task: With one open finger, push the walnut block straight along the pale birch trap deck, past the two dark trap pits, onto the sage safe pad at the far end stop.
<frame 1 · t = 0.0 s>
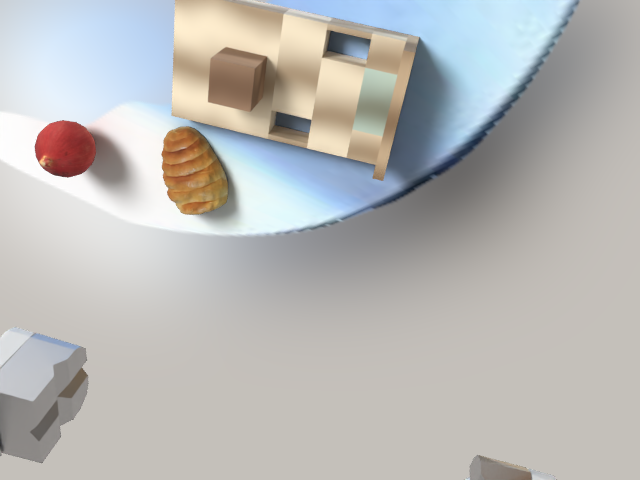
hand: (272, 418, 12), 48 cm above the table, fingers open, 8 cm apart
onion: (85, 135, 67), on the table
pastry: (197, 170, 66), on the table
walnut block: (244, 72, 56), point 2 cm above the table, touching trap deck
trap deck: (291, 74, 58), on the table
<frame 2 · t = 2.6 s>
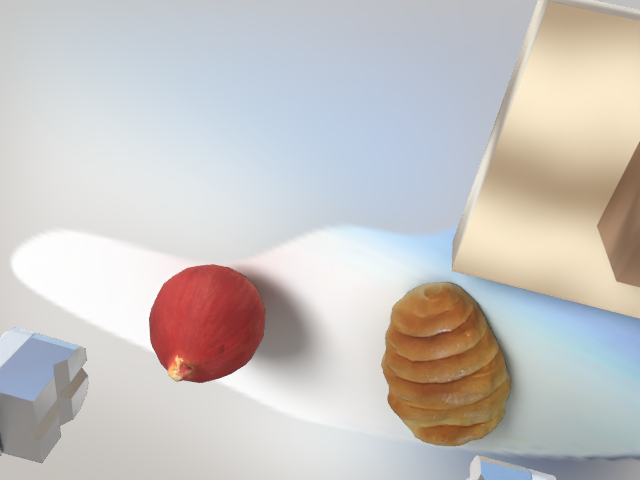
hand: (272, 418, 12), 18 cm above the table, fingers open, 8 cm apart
onion: (232, 277, 34), on the table
pastry: (440, 349, 34), on the table
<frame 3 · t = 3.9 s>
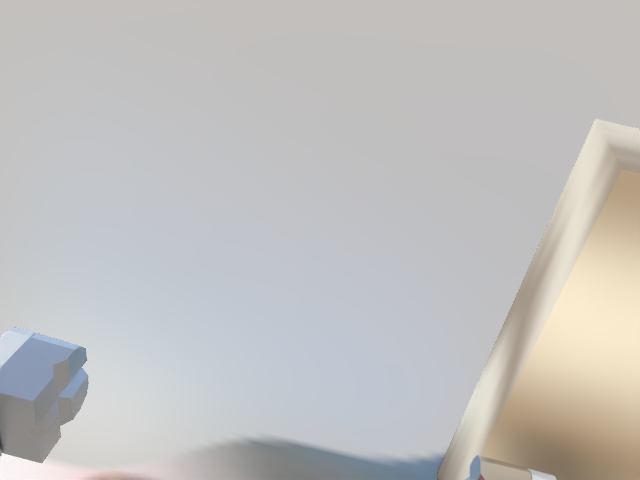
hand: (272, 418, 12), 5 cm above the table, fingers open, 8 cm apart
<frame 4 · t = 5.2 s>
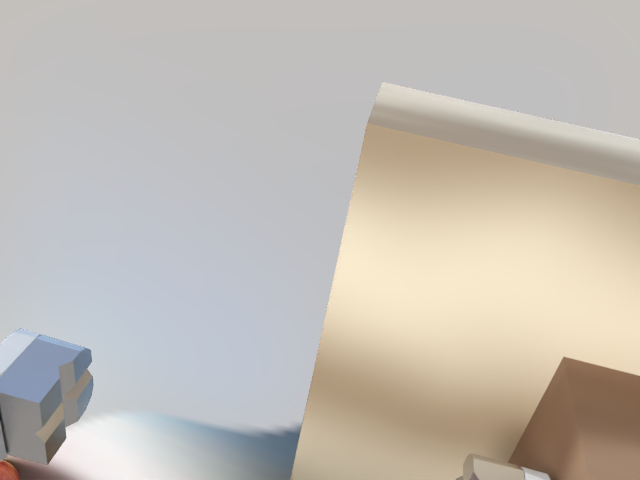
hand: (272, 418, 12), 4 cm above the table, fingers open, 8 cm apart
onion: (11, 462, 24), on the table
walnut block: (619, 443, 13), point 3 cm above the table, touching gripper, trap deck
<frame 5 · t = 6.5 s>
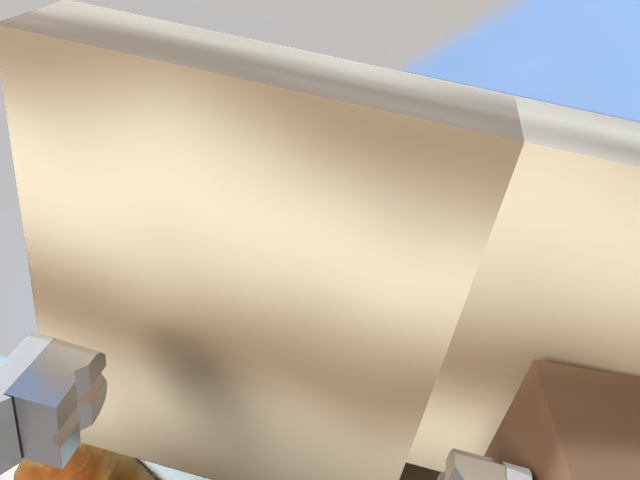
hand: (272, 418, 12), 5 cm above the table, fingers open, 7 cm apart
walnut block: (588, 438, 13), point 3 cm above the table, tilted 8°, touching gripper, trap deck
trap deck: (477, 322, 16), on the table
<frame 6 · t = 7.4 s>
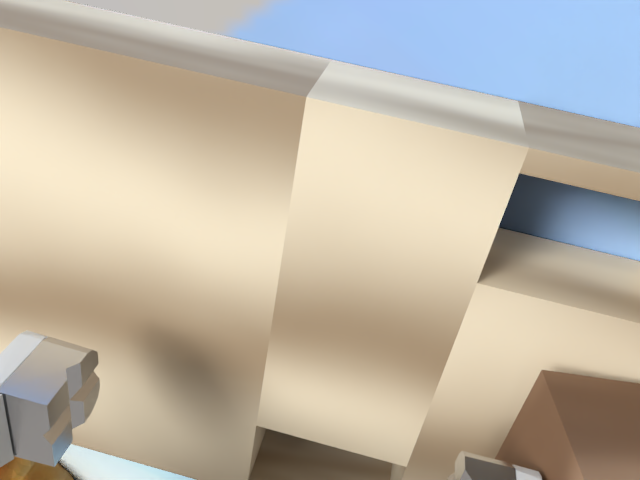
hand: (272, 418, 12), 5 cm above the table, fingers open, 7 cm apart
walnut block: (595, 445, 13), point 3 cm above the table, tilted 10°, touching gripper, trap deck
trap deck: (330, 289, 16), on the table
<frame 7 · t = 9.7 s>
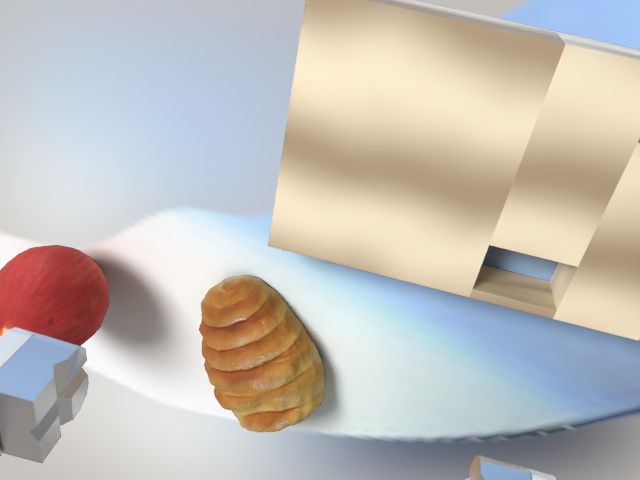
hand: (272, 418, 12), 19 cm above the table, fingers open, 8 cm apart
onion: (89, 261, 36), on the table
pastry: (264, 342, 37), on the table
trap deck: (528, 169, 28), on the table
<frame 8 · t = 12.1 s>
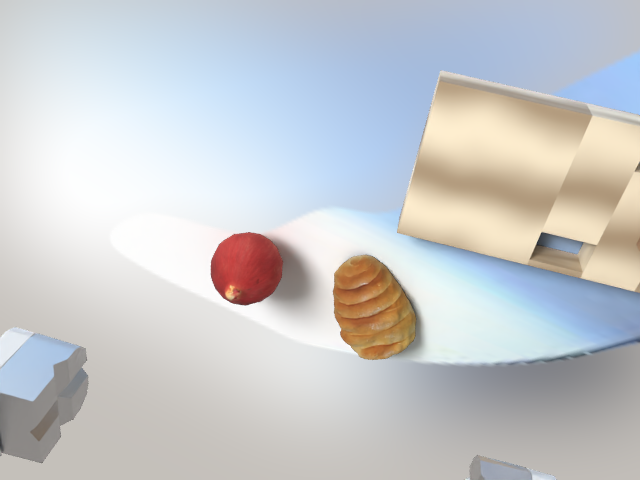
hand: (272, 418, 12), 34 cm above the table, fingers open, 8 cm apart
onion: (260, 243, 52), on the table
pastry: (372, 300, 54), on the table
trap deck: (566, 183, 44), on the table
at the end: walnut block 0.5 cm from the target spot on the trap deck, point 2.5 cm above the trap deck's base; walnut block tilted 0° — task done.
